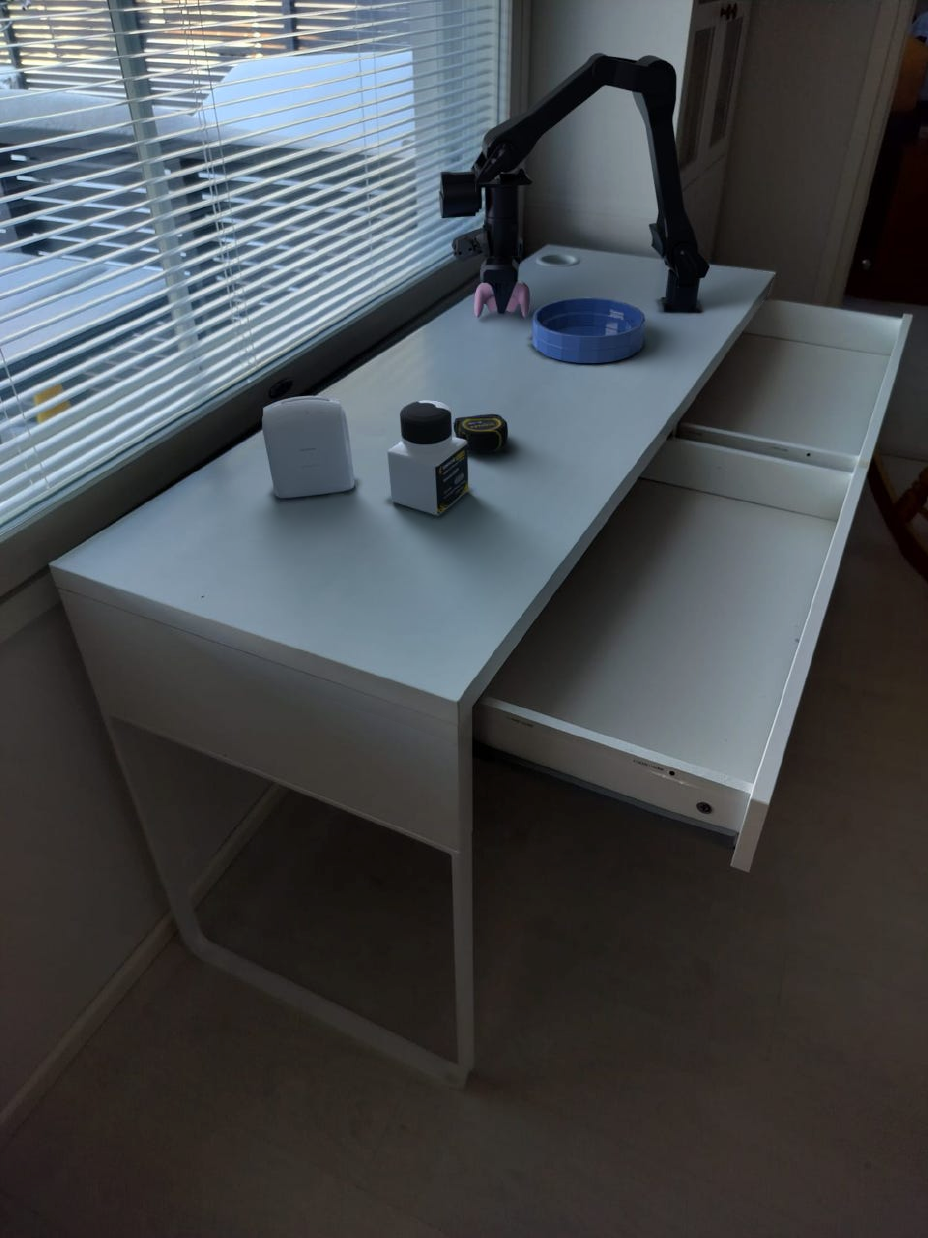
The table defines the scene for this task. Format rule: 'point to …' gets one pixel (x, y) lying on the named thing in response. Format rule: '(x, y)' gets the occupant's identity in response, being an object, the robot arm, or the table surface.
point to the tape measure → (482, 432)
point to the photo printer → (308, 446)
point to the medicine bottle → (428, 459)
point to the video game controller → (518, 297)
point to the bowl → (588, 330)
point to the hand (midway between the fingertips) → (502, 307)
